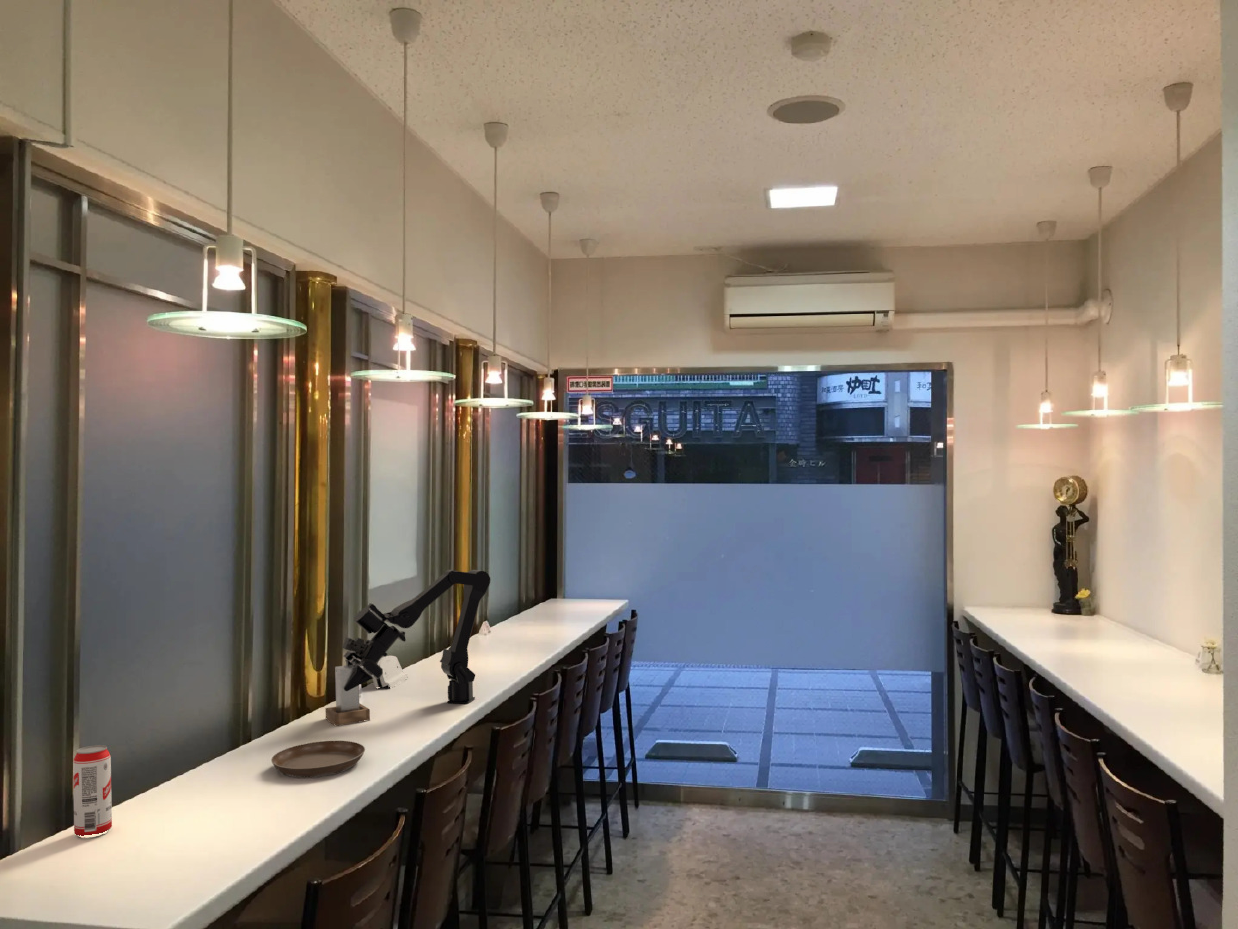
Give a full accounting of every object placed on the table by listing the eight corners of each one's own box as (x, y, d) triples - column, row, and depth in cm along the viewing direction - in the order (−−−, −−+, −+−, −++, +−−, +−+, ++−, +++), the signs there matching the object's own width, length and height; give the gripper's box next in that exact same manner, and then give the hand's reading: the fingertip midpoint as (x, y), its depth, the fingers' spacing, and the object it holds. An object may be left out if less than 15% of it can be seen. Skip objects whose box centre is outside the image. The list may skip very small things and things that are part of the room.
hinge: (390, 689, 297) (379, 659, 298) (377, 694, 298) (366, 664, 298) (409, 678, 314) (398, 650, 314) (396, 683, 314) (386, 655, 315)
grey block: (354, 708, 263) (353, 664, 263) (359, 712, 259) (358, 667, 259) (336, 711, 260) (335, 666, 260) (341, 715, 256) (340, 669, 256)
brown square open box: (359, 713, 266) (359, 703, 266) (369, 720, 258) (369, 709, 258) (325, 718, 261) (325, 708, 261) (335, 725, 253) (335, 714, 253)
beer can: (71, 842, 172) (70, 755, 173) (76, 831, 178) (75, 747, 178) (110, 836, 175) (108, 750, 175) (113, 825, 180) (112, 742, 181)
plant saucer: (327, 785, 203) (327, 769, 203) (251, 777, 210) (251, 762, 210) (382, 758, 222) (382, 744, 222) (311, 751, 229) (311, 738, 229)
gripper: (349, 622, 270) (311, 665, 263) (370, 630, 254) (330, 676, 248) (377, 646, 274) (340, 689, 268) (399, 655, 258) (360, 701, 252)
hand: (342, 688), depth 259 cm, fingers closed on grey block, 5 cm apart
